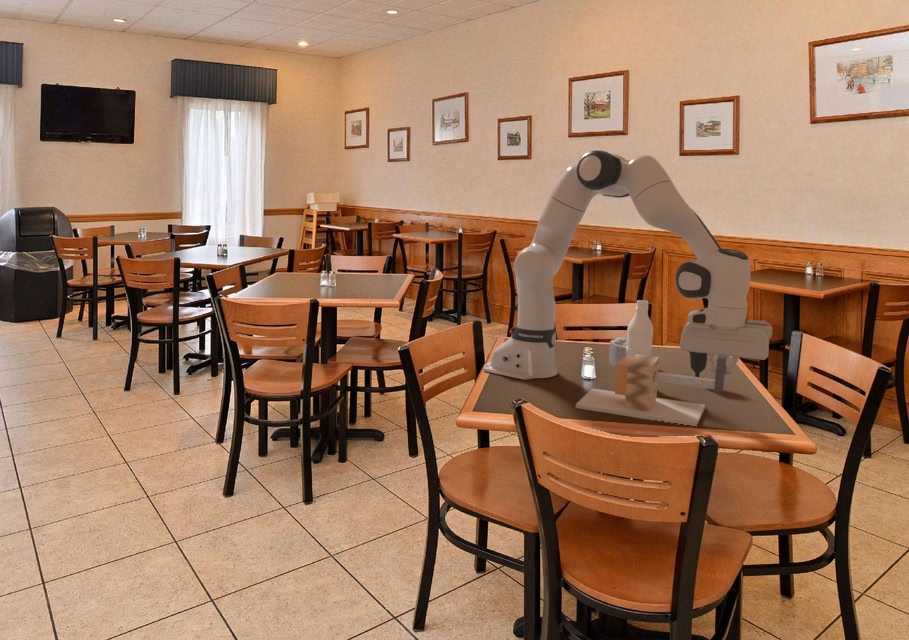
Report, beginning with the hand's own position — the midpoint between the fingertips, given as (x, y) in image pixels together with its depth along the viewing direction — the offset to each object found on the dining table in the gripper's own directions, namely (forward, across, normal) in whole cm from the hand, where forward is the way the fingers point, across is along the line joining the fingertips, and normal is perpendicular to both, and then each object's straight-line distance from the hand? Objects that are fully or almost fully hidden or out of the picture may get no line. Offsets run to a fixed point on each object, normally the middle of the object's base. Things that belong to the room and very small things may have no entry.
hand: (721, 372), depth 174 cm
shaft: (+4, +11, 0) cm, 12 cm away
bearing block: (+11, +19, 0) cm, 22 cm away
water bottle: (+12, +24, -19) cm, 33 cm away
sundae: (+12, +9, -31) cm, 35 cm away
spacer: (+8, +23, 0) cm, 25 cm away
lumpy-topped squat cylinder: (+13, +31, -42) cm, 54 cm away
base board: (+12, +19, 0) cm, 22 cm away
